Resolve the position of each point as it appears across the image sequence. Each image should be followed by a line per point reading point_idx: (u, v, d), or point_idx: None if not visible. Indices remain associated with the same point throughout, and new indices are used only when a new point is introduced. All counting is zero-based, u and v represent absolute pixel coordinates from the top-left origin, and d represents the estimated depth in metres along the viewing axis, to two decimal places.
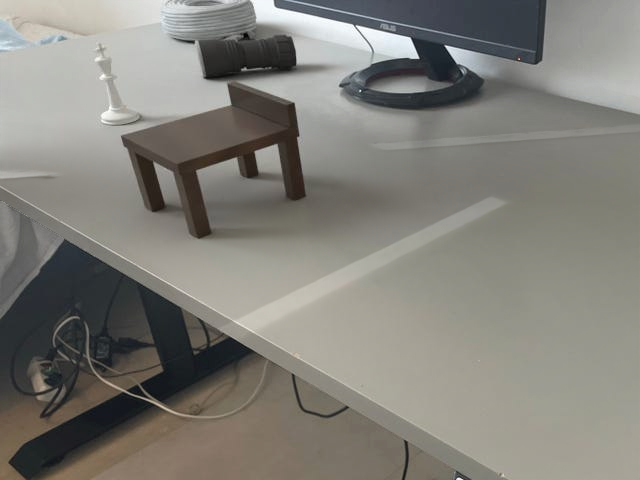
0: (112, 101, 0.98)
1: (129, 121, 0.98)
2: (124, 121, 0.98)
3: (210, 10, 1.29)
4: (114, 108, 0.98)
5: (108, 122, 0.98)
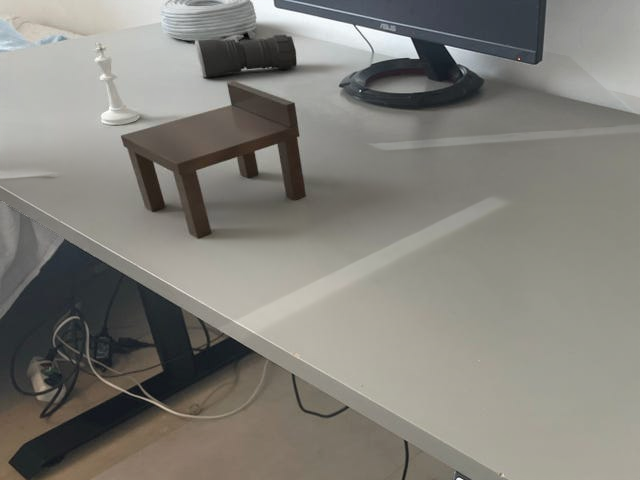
0: (112, 101, 0.98)
1: (129, 121, 0.98)
2: (124, 121, 0.98)
3: (210, 10, 1.29)
4: (114, 108, 0.98)
5: (108, 122, 0.98)
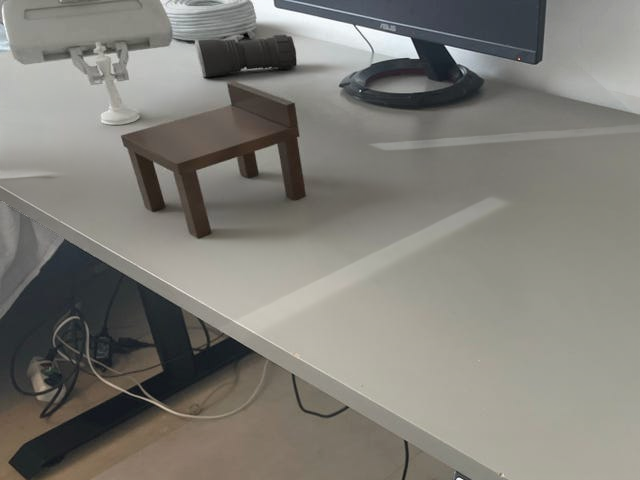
0: (112, 101, 0.98)
1: (129, 121, 0.98)
2: (124, 121, 0.98)
3: (210, 10, 1.29)
4: (114, 108, 0.98)
5: (108, 122, 0.98)
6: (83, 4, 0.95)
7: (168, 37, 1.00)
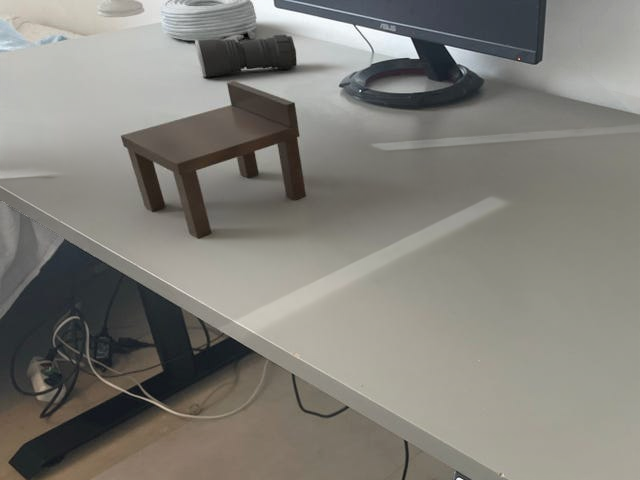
0: None
1: (132, 13, 0.80)
2: (126, 13, 0.80)
3: (210, 10, 1.29)
4: None
5: (106, 14, 0.79)
6: None
7: None
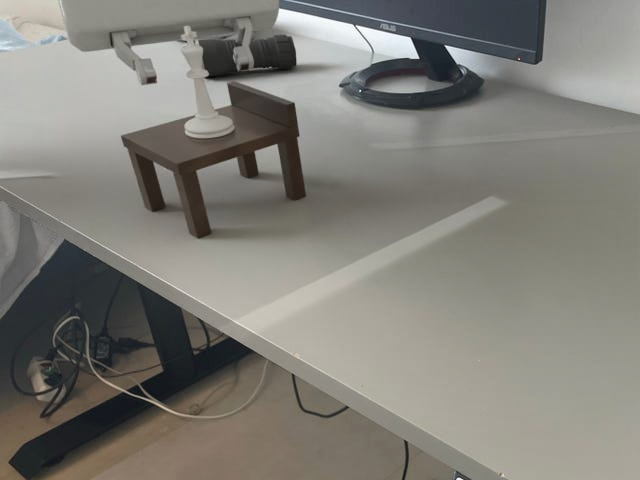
0: (202, 107, 0.72)
1: (223, 133, 0.73)
2: (217, 134, 0.72)
3: None
4: (203, 116, 0.72)
5: (195, 135, 0.72)
6: None
7: (274, 16, 0.74)
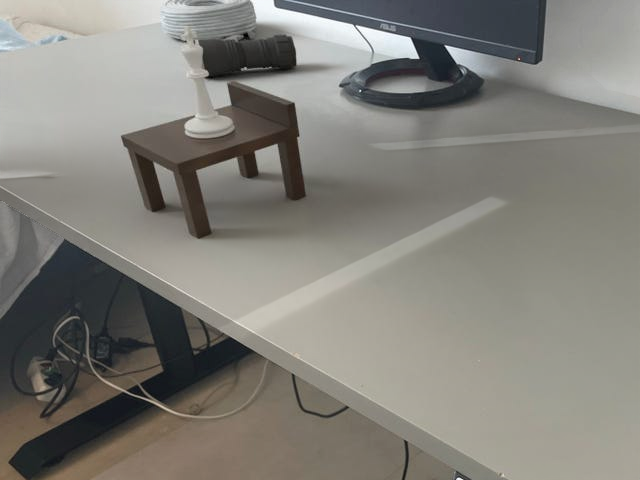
0: (201, 107, 0.72)
1: (223, 133, 0.73)
2: (217, 134, 0.72)
3: (210, 10, 1.29)
4: (203, 116, 0.72)
5: (195, 135, 0.72)
6: None
7: None
